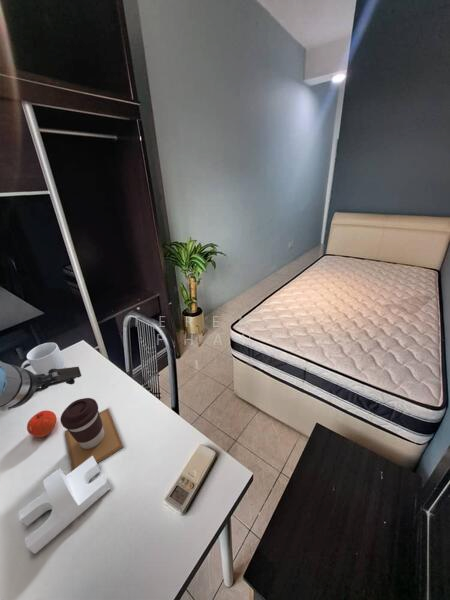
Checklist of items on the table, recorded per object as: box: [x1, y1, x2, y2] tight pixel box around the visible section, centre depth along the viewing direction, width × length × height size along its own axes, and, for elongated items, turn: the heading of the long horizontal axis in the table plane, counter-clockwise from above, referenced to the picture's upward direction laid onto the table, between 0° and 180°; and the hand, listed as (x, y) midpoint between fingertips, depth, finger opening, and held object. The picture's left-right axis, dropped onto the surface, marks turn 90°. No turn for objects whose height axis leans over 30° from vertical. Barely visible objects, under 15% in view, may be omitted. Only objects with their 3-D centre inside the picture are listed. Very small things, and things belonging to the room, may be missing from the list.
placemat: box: [64, 408, 124, 471], centre depth 80 cm, size 18×14×1 cm
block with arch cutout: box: [18, 456, 111, 555], centre depth 62 cm, size 18×10×11 cm, turn 136°
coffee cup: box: [59, 397, 104, 449], centre depth 77 cm, size 10×10×15 cm
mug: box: [20, 342, 65, 375], centre depth 104 cm, size 15×11×13 cm
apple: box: [26, 410, 58, 438], centre depth 82 cm, size 8×8×8 cm
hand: (42, 390), depth 64 cm, fingers open, 13 cm apart
